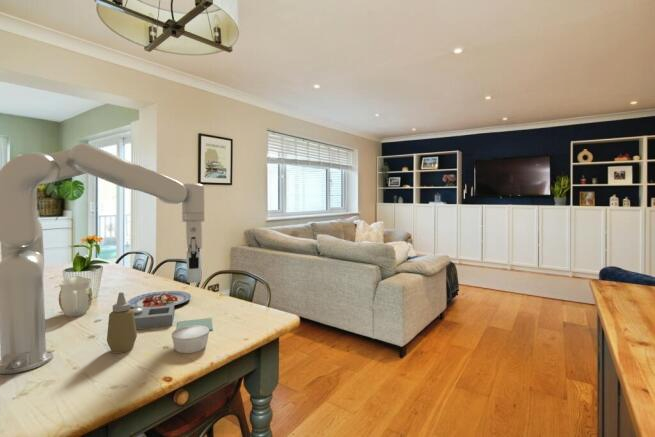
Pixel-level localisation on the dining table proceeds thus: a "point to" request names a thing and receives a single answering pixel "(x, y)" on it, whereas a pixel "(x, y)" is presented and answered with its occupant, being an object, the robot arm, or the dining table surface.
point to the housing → (155, 317)
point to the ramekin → (190, 338)
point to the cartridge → (193, 274)
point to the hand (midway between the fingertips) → (193, 266)
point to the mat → (196, 323)
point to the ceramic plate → (159, 299)
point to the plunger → (137, 310)
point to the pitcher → (75, 296)
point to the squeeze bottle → (121, 326)
